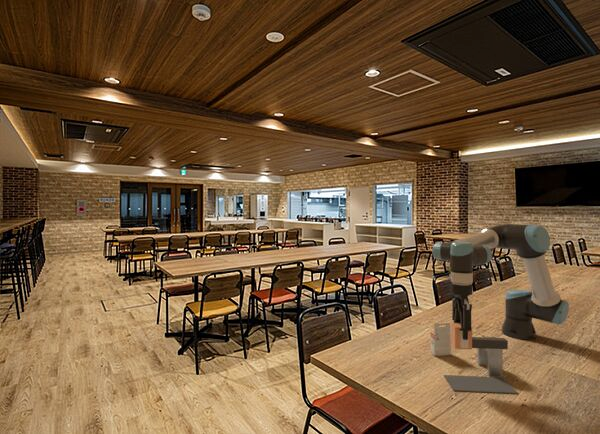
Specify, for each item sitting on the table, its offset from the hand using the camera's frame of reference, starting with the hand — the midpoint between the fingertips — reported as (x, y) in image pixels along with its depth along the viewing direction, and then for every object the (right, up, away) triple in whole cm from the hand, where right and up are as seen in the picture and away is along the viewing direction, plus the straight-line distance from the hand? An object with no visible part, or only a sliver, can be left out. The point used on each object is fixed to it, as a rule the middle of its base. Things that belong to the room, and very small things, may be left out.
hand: (461, 344), depth 126 cm
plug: (+6, -1, -1) cm, 6 cm away
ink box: (+3, -15, +26) cm, 30 cm away
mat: (+6, -15, -1) cm, 16 cm away
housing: (+16, -15, +10) cm, 24 cm away
